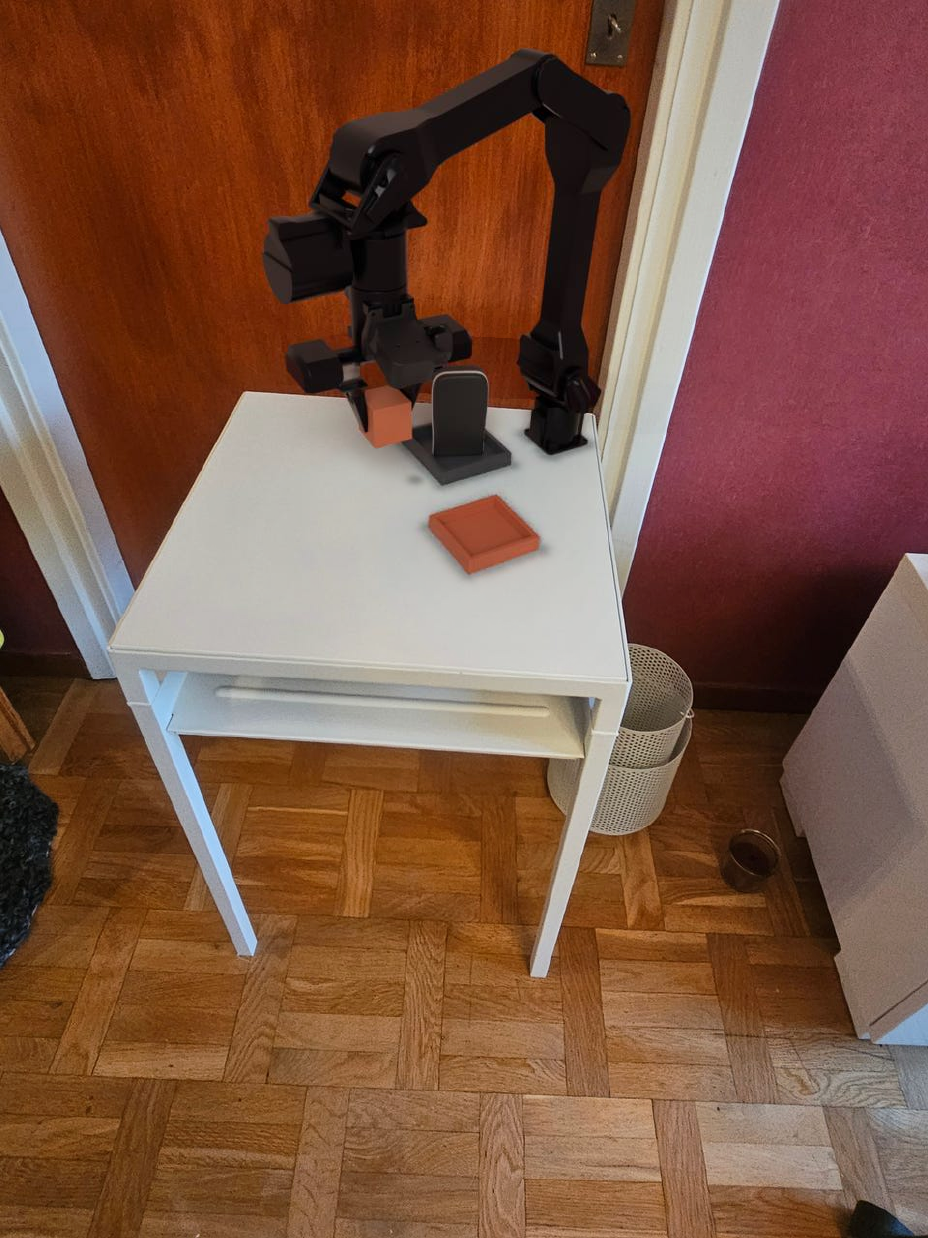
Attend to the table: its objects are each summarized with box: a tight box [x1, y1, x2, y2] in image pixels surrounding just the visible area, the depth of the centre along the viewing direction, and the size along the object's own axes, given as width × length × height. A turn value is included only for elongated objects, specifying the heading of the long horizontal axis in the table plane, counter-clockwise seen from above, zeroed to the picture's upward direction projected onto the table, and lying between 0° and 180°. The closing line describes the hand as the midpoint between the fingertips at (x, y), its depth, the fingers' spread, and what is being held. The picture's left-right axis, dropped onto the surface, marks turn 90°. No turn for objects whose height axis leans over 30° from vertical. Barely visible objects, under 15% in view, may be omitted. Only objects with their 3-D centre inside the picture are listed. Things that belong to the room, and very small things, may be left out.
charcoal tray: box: [401, 421, 513, 486], centre depth 97 cm, size 10×11×2 cm
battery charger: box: [430, 364, 489, 456], centre depth 94 cm, size 7×4×11 cm, turn 98°
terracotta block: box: [357, 384, 413, 449], centre depth 81 cm, size 4×4×4 cm
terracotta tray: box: [428, 493, 541, 575], centre depth 85 cm, size 9×9×2 cm
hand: (384, 425), depth 82 cm, fingers closed on terracotta block, 4 cm apart
